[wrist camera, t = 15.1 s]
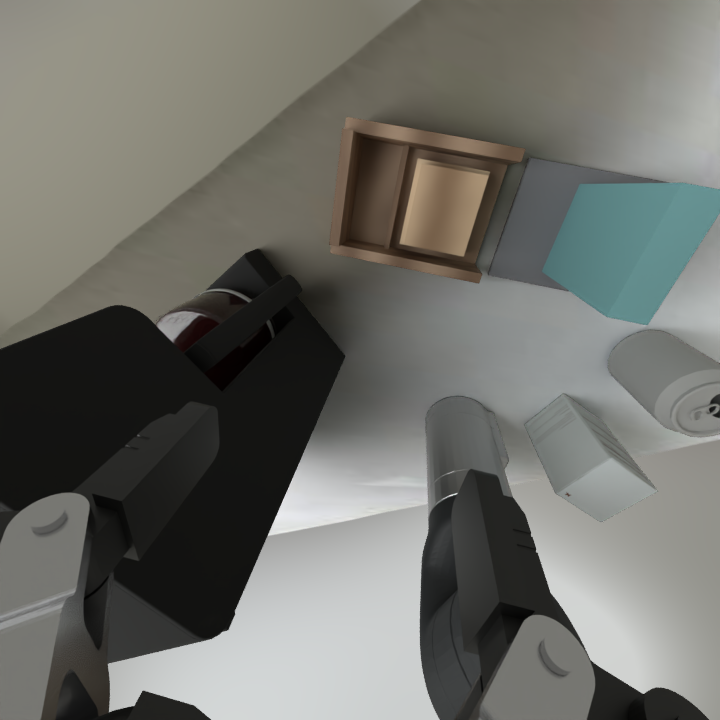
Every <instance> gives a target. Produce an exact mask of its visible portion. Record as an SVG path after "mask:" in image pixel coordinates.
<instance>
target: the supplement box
mask: <svg viewBox="0 0 720 720" xmlns="http://www.w3.org/2000/svg"><path fill="white" fill-rule="evenodd" d="M525 427H526V430H527V432H528V434H529V436H530V438H531V441H532V443H533V445H534V447H535V449H536V452H537V454H538V456H539V458H540V461H541V463H542V465H543V467H544V469H545V472H546V474H547V476H548V478H549V480H550V483H551V485H552V487H553V489H554V491H555V493H556V494H557V495H559V496H561V497H562V498H564V499H565V500H567V501H568V502H570V503H572V504H573V505H575V506H576V507H578V508H579V509H581V510H582V511H584V512H585V513H587V514H589V515H590V516H592V517H593V518H595V519H596V520H598V521H600V522H603V521H605V520H607V519H608V518H610V517H612V516H614V515H615V514H617V513H619V512H621V511H623V510H625V509H627V508H629V507H630V506H632V505H634V504H636V503H638V502H639V501H641V500H643V499H645V498H647V497H649V496H651V495H652V494H654V493H656V492H658V490H657V489H656V488H655V486H654V485H653V484H652V483H651V481H650V480H649V479H648V478H647V477H646V476H645V474H644V473H643V471H642V470H641V469H640V468H639V466H638V465H637V464H636V463H635V462H634V460H633V459H632V458H631V457H630V455H629V454H628V453H627V452H626V450H625V449H624V448H623V446H622V445H621V444H620V443H619V441H618V440H617V439H616V438H615V436H614V435H613V434H612V432H611V431H610V430H609V428H608V427H607V426H606V425H605V423H604V422H603V421H602V420H601V419H599V418H598V417H596V416H595V415H593V414H592V413H591V412H589V411H588V410H586V409H585V408H584V407H582V406H581V405H579V404H578V403H577V402H575V401H574V400H572V399H571V398H569V397H568V396H567V395H565V394H562V395H561V396H560V397H558V398H557V399H556V400H555V401H554V402H552V403H551V404H550V405H549V406H547V407H546V408H545V409H544V410H542V411H541V412H540V413H539V414H537V415H536V416H535V417H533V418H532V419H531V420H530V421H529V422H527V423H526V424H525Z"/></svg>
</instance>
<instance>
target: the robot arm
mask: <svg viewBox="0 0 720 720" xmlns="http://www.w3.org/2000/svg"><path fill="white" fill-rule="evenodd" d="M218 449H219V425H218V411H217V408H216V407H214V406H210V405H205V404H201V403H197V402H189V403H187V404H186V405H185V406H184V407H183V408H182V409H181V410H180V411H179V412H178V413H176V414H175V415H174V414H170V413H169V414H167V415H165V416H163V417H161V418H159V419H157V420H155V421H153V422H151V423H150V424H149V425H148V426H146V427H145V428H144V429H143V430H142V431H141V432H140V433H139V434H137V437H134V438H133V439H132V440H131V441H129V442H128V443H127V444H126V446H125V448H122V449H120V450H119V451H118V452H117V453H116V454H115V455H114V456H113V457H111V458H110V459H109V460H108V461H107V462H106V463H105V464H103V465H102V466H101V467H100V468H99V469H98V470H97V471H96V472H94V473H93V474H92V475H91V476H90V477H89V478H88V479H86V480H85V481H84V482H83V483H82V484H81V485H80V486H79V487H77V488H76V489H75V490H74V491H72V492H71V493H60V494H55V495H51V496H48V497H45V498H43V499H40V500H38V501H36V502H34V503H33V504H31V505H29V506H27V507H26V508H25V509H23V510H21V511H3V512H0V720H211V719H210V718H208V717H207V716H206V715H205V714H204V713H202V712H201V711H200V710H199V709H197V708H196V707H195V706H194V705H190V704H187V703H183V702H180V701H177V700H173V699H170V698H167V697H163V696H160V695H156V694H153V693H149V692H146V691H142V693H141V695H140V697H139V699H138V700H137V702H136V704H135V706H132V707H127V708H123V709H119V710H115V711H112V712H109V701H110V681H109V672H108V663H107V650H108V637H109V625H110V613H111V601H112V589H113V577H114V571H113V569H114V568H115V566H116V565H117V564H118V563H119V561H120V560H121V559H122V558H123V557H126V558H130V559H133V560H137V561H139V560H140V559H141V558H142V556H143V555H144V554H145V552H146V551H147V550H148V548H149V547H150V546H151V544H152V543H153V542H154V540H155V539H156V537H157V536H158V535H159V533H160V532H161V531H162V529H163V528H164V527H165V525H166V524H167V523H168V521H169V520H170V519H171V517H172V516H173V515H174V513H175V512H176V511H177V509H178V508H179V507H180V505H181V504H182V503H183V501H184V500H185V499H186V497H187V496H188V495H189V493H190V492H191V491H192V489H193V488H194V487H195V485H196V484H197V483H198V481H199V480H200V479H201V477H202V476H203V475H204V473H205V472H206V470H207V469H208V468H209V466H210V465H211V464H212V462H213V461H214V459H215V457H216V455H217V452H218ZM426 452H427V488H428V521H429V530H428V536H427V539H426V543H425V546H424V550H423V556H422V570H421V601H420V649H421V661H422V668H423V674H424V678H425V683H426V687H427V690H428V694H429V697H430V699H431V702H432V704H433V707H434V709H435V711H436V713H437V715H438V717H439V719H440V720H709V719H708V718H707V717H706V716H705V715H704V714H703V713H702V712H701V711H700V710H699V709H698V708H697V707H695V706H694V705H693V704H692V703H690V702H689V701H688V700H687V699H685V698H684V697H682V696H681V695H679V694H677V693H676V692H673V691H671V690H669V689H665V688H654V689H651V690H650V691H648V692H646V693H645V694H642V693H640V692H639V691H637V690H636V689H634V688H632V687H631V686H629V685H628V684H626V683H624V682H623V681H621V680H619V679H618V678H616V677H615V676H613V675H611V674H610V673H608V672H606V671H605V670H603V669H602V668H600V667H599V666H597V665H596V664H594V663H593V662H592V661H591V660H590V658H589V656H588V654H587V652H586V650H585V648H584V645H583V644H582V641H581V640H580V638H579V636H578V634H577V632H576V630H575V629H574V627H573V625H572V624H571V622H570V620H569V618H568V617H567V615H566V614H565V612H564V611H563V609H562V608H561V606H560V605H559V603H558V602H557V601H556V599H555V598H554V597H553V596H552V594H551V593H550V590H549V587H548V584H547V581H546V578H545V574H544V571H543V568H542V565H541V562H540V559H539V556H538V553H536V547H535V544H534V540H533V537H531V531H530V528H529V525H528V522H527V519H526V516H525V514H524V512H523V511H522V510H521V508H520V507H519V505H518V504H517V502H516V501H515V500H514V498H513V496H512V493H511V490H510V487H509V483H508V480H507V477H506V473H505V470H504V469H505V467H506V466H507V464H508V461H509V458H508V455H507V452H506V449H505V446H504V443H503V440H502V437H501V434H500V431H499V428H498V424H497V421H496V418H495V415H494V413H493V412H489V411H487V410H486V409H485V408H484V407H483V406H482V405H481V404H480V403H478V402H477V401H475V400H473V399H470V398H466V397H457V396H456V397H449V398H445V399H442V400H440V401H438V402H437V403H436V404H434V405H433V406H432V407H431V408H430V410H429V411H428V413H427V416H426Z"/></svg>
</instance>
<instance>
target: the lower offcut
mask: <svg viewBox="0 0 720 720" xmlns="http://www.w3.org/2000/svg"><path fill="white" fill-rule="evenodd" d="M422 164H428V165H433V166H439V167H444V168H449V169H455V170H460V171H466V172H471V173H476V174H482V175H487V176H489V174H490V172H489V171H484V170H478V169H473V168H467V167H462V166H457V165H451V164H446V163H440V162H435V161H429V160H424V159H419V158H418V160H417V164H416V169H415V174H414V178H413V183H412V188H411V192H410V197H409V202H408V206H407V211H406V216H405V220H404V225H403V230H402V234H401V239H400V244H403V245H405V244H404V242H405V237H406V233H407V228H408V224H409V219H410V215H411V210H412V205H413V201H414V196H415V192H416V187H417V183H418V178H419V174H420V169H421V165H422ZM408 246H410V245H408ZM413 247H415V246H413ZM418 248H420V247H418ZM423 249H425V248H423ZM428 250H430V249H428ZM433 251H435V250H433ZM438 252H440V251H438ZM443 253H445V252H443ZM448 254H450V253H448ZM453 255H455V254H453ZM458 256H460V255H458ZM463 257H464V256H463Z"/></svg>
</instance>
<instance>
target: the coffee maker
mask: <svg viewBox="0 0 720 720" xmlns="http://www.w3.org/2000/svg"><path fill="white" fill-rule="evenodd" d="M301 291H302V289H301V287H300V285H299V283H298V282H297V281H296V280H295V279H294V278H293V277H292V276H291V275H287V276H286V277H284V278H283V279H282V278H281V276H280V275H279V274H278V273H277V271H276V270H275V269H274V268H273V266H272V265H271V264H270V263H269V262H268V260H267V259H266V258H265V257H264V255H263V254H262V253H261V252H260V250H259V249H255V250H253V251H250V252H248V253H245V254H244V255H243V256H242V257H241V258H240V259H239V260H238V261H237V262H236V263H235V264H233V265H232V266H231V267H230V268H229V269H228V270H227V271H226V272H225V273H224V274H223V275H222V276H221V277H219V278H218V279H217V280H216V281H215V282H214V283H213V284H212V285H211V286H210V287H209V288H208V289H207V290H205V291H204V292H203V293H202V294H201V295H200V294H199V295H200V296H198V295H197V296H198V297H197V296H195V297H194V298H193V299H191V300H189V301H187V302H185V303H183V304H180V305H179V306H178V307H176V308H174V309H173V310H171V311H170V310H169V311H170V312H168V313H167V314H166V315H164V314H165V313H164V314H163V315H164V316H163V317H162V316H161V317H160V316H159V317H160V320H159V321H158V322H156V325H155V324H154V323H153V322H152V321H151V320H150V319H149V318H148V317H147V316H145V315H144V314H143V313H141V312H140V311H138V310H136V309H133V308H131V307H127V306H122V305H114V306H110V307H107V308H104V309H102V310H99V311H97V312H94V313H91V314H89V315H86V316H84V317H81V318H79V319H76V320H73V321H71V322H68V323H66V324H63V325H61V326H58V327H55V328H53V329H50V330H48V331H45V332H43V333H40V334H37V335H35V336H32V337H30V338H27V339H25V340H22V341H19V342H17V343H14V344H12V345H9V346H7V347H4V348H1V349H0V512H3V511H21V510H23V509H25V508H26V507H27V506H29V505H31V504H33V503H34V502H36V501H38V500H40V499H43V498H45V497H48V496H51V495H55V494H60V493H71V492H72V491H74V490H75V489H76V488H77V487H79V486H80V485H81V484H82V483H83V482H84V481H85V480H86V479H88V478H89V477H90V476H91V475H92V474H93V473H94V472H96V471H97V470H98V469H99V468H100V467H101V466H102V465H103V464H105V463H106V462H107V461H108V460H109V459H110V458H111V457H113V456H114V455H115V454H116V453H117V452H118V451H119V450H120V449H122V448H125V446H126V444H127V443H128V442H129V441H131V440H132V439H133V438H134V437H137V434H139V433H140V432H141V431H142V430H143V429H144V428H145V427H146V426H148V425H149V424H150V423H151V422H153V421H155V420H157V419H159V418H161V417H163V416H165V415H167V414H169V413H170V414H174V415H175V414H176V413H178V412H179V411H180V410H181V409H182V408H183V407H184V406H185V405H186V404H187V403H189V402H197V403H201V404H205V405H210V406H214V407H216V408H217V411H218V425H219V449H218V452H217V455H216V457H215V459H214V461H213V462H212V464H211V465H210V466H209V468H208V469H207V470H206V472H205V473H204V475H203V476H202V477H201V479H200V480H199V481H198V483H197V484H196V485H195V487H194V488H193V489H192V491H191V492H190V493H189V495H188V496H187V497H186V499H185V500H184V501H183V503H182V504H181V505H180V507H179V508H178V509H177V511H176V512H175V513H174V515H173V516H172V517H171V519H170V520H169V521H168V523H167V524H166V525H165V527H164V528H163V529H162V531H161V532H160V533H159V535H158V536H157V537H156V539H155V540H154V542H153V543H152V544H151V546H150V547H149V548H148V550H147V551H146V552H145V554H144V555H143V556H142V558H141V559H140V560H139V561H137V560H133V559H130V558H126V557H123V558H122V559H121V560H120V561H119V563H118V564H117V565H116V566H115V568H114V569H113V571H114V577H113V589H112V601H111V613H110V625H109V637H108V650H107V663H112V662H117V661H121V660H125V659H129V658H134V657H138V656H142V655H146V654H150V653H154V652H159V651H163V650H167V649H171V648H175V647H180V646H184V645H188V644H192V643H196V642H201V641H205V640H209V639H212V638H214V637H215V636H218V635H219V634H220V633H221V632H223V631H227V630H228V629H229V627H230V625H231V622H232V620H233V618H234V616H235V612H234V611H235V609H236V607H237V605H238V603H239V600H240V598H241V596H242V593H243V591H244V589H245V586H246V584H247V582H248V579H249V577H250V575H251V572H252V570H253V568H254V566H255V563H256V561H257V559H258V556H259V554H260V552H261V549H262V547H263V545H264V542H265V540H266V538H267V536H268V533H269V531H270V529H271V526H272V524H273V522H274V520H275V517H276V515H277V513H278V510H279V508H280V506H281V503H282V501H283V499H284V497H285V494H286V492H287V490H288V487H289V485H290V483H291V480H292V478H293V476H294V473H295V471H296V469H297V467H298V464H299V462H300V460H301V457H302V455H303V453H304V450H305V448H306V446H307V443H308V441H309V439H310V437H311V434H312V432H313V430H314V427H315V425H316V423H317V420H318V418H319V416H320V414H321V411H322V409H323V407H324V404H325V402H326V400H327V397H328V395H329V393H330V390H331V388H332V386H333V384H334V381H335V379H336V377H337V374H338V372H339V370H340V367H341V365H342V363H343V360H344V358H345V355H344V354H343V353H342V351H341V350H340V349H339V348H338V347H337V345H336V344H335V343H334V342H333V340H332V339H331V338H330V337H329V335H328V334H327V333H326V332H325V331H324V329H323V328H322V327H321V326H320V324H319V323H318V322H317V321H316V319H315V318H314V317H313V316H312V315H311V313H310V312H309V311H308V310H307V308H306V307H305V306H304V305H303V303H302V302H301V301H300V300H299V299H298V297H297V295H298V294H299V293H300V292H301ZM159 317H158V318H159ZM156 321H157V320H156Z"/></svg>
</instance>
